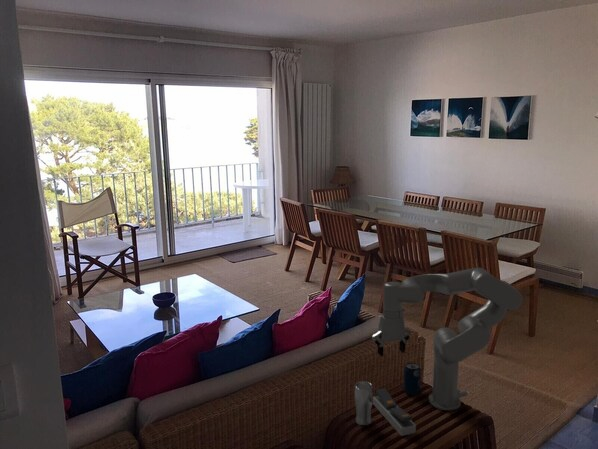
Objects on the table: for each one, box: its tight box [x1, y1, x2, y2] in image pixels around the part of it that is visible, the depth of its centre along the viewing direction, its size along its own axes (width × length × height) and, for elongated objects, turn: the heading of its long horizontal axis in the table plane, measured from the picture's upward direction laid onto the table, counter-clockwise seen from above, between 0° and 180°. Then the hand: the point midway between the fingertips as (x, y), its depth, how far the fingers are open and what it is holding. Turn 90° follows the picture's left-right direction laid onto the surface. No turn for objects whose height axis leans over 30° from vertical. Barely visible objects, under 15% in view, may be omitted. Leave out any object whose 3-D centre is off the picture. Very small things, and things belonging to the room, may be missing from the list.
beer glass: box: [354, 380, 374, 426], centre depth 184 cm, size 7×7×15 cm
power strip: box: [372, 395, 417, 437], centre depth 187 cm, size 23×6×3 cm, turn 18°
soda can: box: [403, 362, 422, 396], centre depth 205 cm, size 7×7×12 cm
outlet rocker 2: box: [390, 406, 414, 422], centre depth 181 cm, size 4×10×1 cm, turn 18°
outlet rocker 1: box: [375, 387, 398, 409], centre depth 192 cm, size 4×10×1 cm, turn 18°
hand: (391, 353), depth 194 cm, fingers open, 9 cm apart
